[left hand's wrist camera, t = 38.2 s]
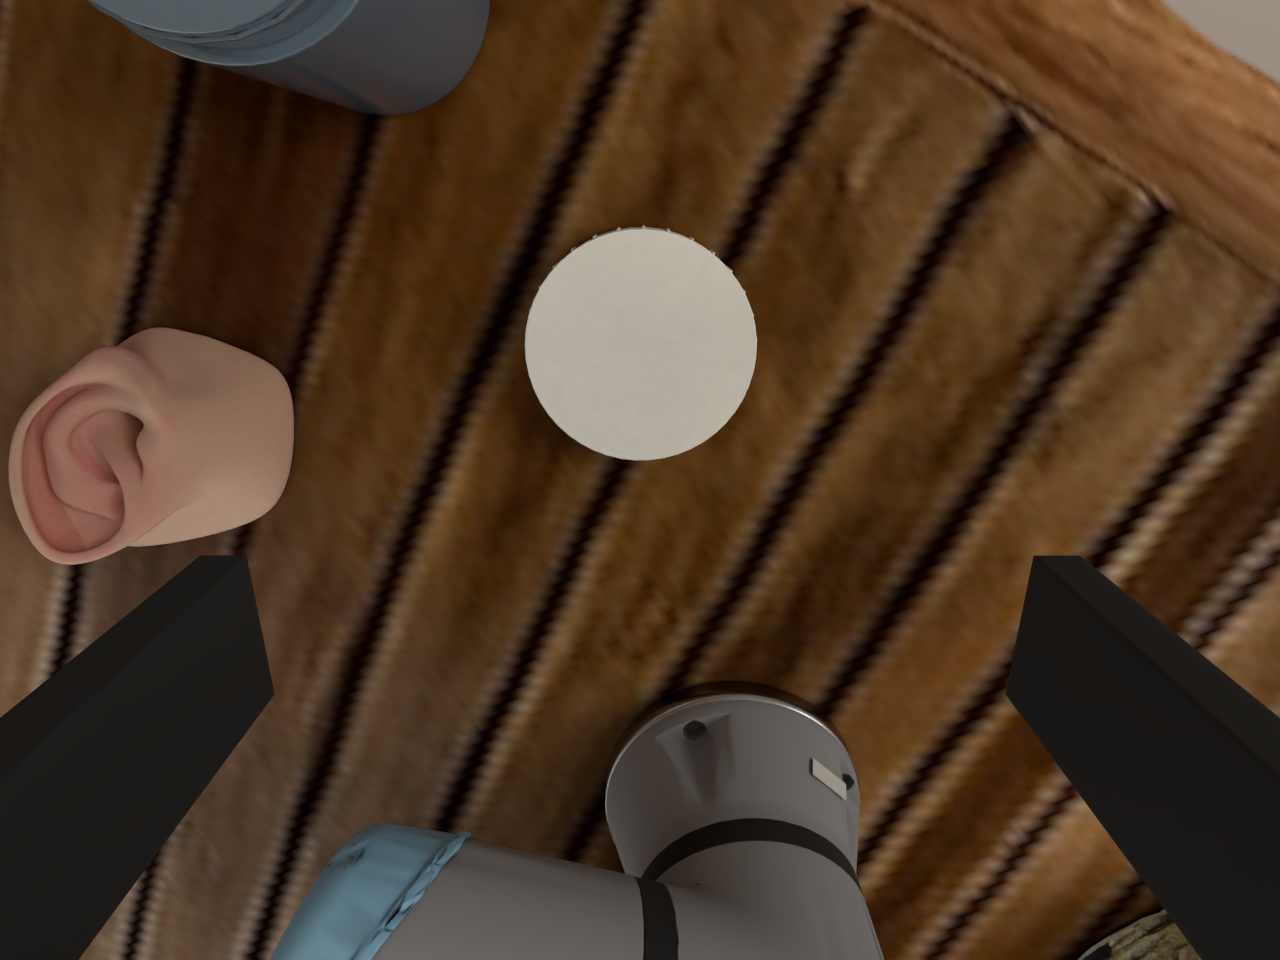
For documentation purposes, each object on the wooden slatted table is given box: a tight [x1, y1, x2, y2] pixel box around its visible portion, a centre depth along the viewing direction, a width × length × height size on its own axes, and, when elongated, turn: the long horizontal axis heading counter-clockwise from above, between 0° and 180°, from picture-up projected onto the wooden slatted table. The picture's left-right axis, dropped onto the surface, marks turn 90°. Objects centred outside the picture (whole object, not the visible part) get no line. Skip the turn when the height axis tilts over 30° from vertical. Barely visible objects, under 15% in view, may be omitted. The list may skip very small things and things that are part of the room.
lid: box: [525, 225, 757, 460], centre depth 36 cm, size 11×11×2 cm
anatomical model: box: [9, 327, 294, 564], centre depth 37 cm, size 13×4×12 cm
